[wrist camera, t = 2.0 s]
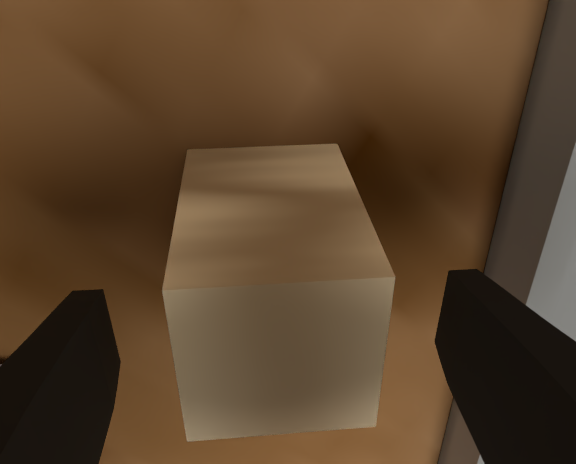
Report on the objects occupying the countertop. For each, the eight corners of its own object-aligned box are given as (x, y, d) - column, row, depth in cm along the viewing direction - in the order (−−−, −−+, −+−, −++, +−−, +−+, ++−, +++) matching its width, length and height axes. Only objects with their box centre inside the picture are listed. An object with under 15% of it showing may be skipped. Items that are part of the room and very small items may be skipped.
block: (201, 271, 16) (187, 441, 11) (187, 149, 14) (162, 290, 9) (331, 263, 16) (375, 426, 11) (337, 143, 14) (395, 276, 9)
